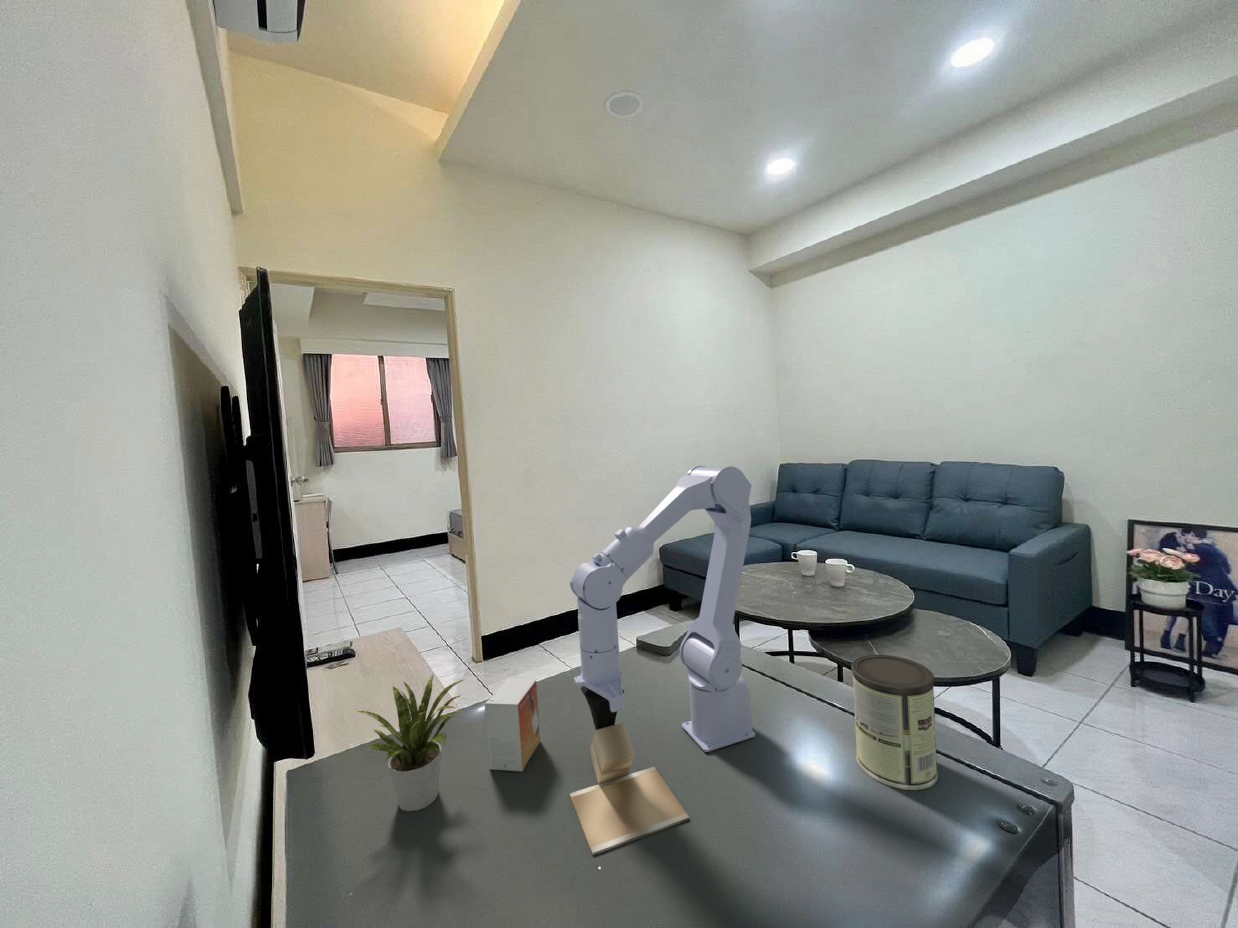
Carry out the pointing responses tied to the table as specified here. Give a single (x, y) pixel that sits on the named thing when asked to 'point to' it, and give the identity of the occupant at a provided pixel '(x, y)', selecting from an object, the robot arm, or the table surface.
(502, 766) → the small box
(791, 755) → the table surface
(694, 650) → the robot arm
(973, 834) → the table surface
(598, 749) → the beech block
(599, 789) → the tan flat rectangular panel
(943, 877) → the table surface
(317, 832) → the table surface
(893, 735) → the coffee can
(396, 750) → the house plant
